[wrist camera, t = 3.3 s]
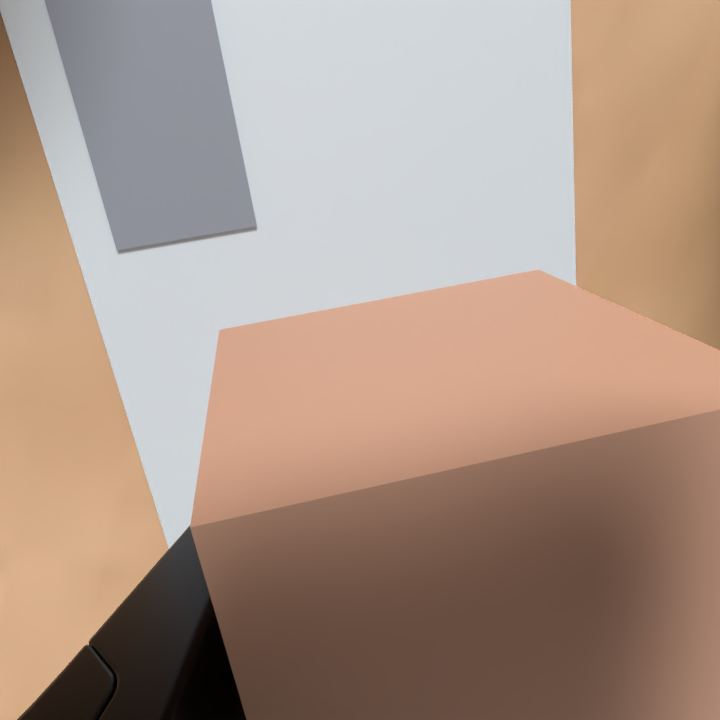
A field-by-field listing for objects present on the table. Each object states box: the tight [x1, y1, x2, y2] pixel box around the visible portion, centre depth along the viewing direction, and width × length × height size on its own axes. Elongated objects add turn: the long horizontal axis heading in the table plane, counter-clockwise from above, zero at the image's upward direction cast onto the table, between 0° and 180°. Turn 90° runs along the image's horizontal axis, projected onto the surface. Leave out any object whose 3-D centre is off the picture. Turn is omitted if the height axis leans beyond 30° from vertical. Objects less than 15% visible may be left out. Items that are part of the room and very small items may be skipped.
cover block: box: [190, 269, 720, 720], centre depth 8 cm, size 5×5×5 cm
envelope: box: [0, 0, 576, 549], centre depth 16 cm, size 12×18×1 cm, turn 9°
